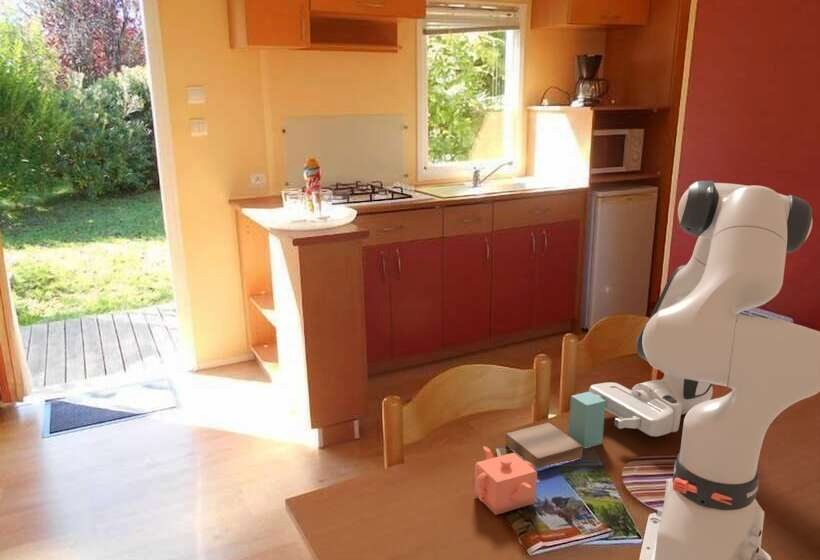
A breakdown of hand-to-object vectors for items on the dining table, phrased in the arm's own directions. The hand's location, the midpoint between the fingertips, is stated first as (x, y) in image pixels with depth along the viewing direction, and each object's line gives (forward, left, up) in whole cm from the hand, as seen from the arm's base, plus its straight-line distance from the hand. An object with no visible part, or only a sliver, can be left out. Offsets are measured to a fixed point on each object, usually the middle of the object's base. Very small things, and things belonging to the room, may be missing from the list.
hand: (601, 414), depth 138 cm
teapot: (-33, +5, -6) cm, 34 cm away
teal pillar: (-3, +2, -6) cm, 7 cm away
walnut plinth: (-13, +7, -5) cm, 16 cm away
